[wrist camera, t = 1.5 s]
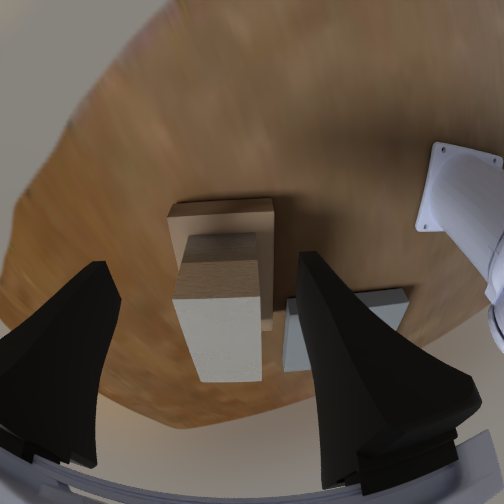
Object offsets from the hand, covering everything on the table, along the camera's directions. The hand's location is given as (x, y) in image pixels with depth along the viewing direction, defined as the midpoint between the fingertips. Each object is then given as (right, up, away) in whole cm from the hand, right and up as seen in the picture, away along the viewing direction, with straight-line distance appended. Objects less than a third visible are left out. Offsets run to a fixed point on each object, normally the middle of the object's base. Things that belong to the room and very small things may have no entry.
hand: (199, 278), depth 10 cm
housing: (0, -1, +11) cm, 12 cm away
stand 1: (0, 0, +13) cm, 13 cm away
